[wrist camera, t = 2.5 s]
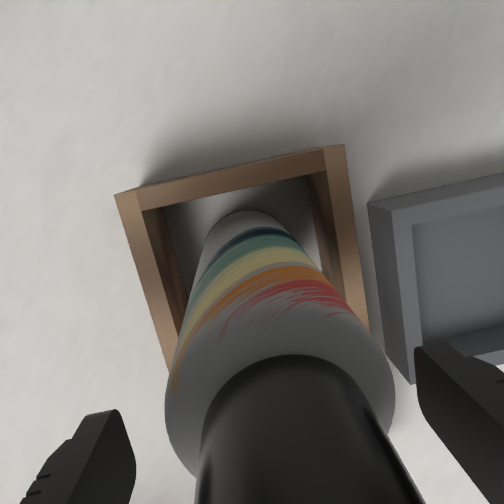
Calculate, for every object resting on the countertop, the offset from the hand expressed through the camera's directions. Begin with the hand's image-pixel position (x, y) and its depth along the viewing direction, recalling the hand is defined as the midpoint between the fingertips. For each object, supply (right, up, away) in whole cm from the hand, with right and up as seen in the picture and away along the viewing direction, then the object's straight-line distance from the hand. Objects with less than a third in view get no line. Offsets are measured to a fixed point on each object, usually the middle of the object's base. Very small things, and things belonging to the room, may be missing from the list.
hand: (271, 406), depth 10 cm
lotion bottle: (-1, +4, +14) cm, 14 cm away
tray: (+13, +3, +15) cm, 20 cm away
